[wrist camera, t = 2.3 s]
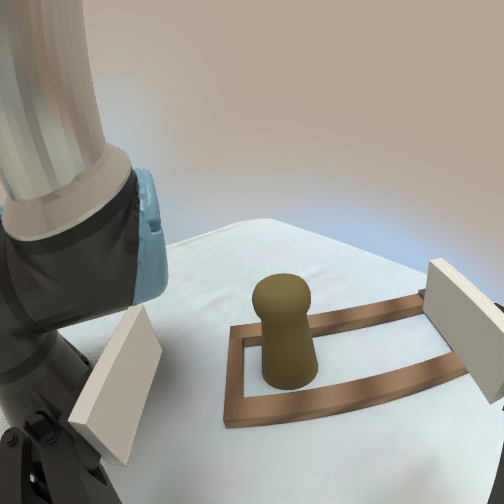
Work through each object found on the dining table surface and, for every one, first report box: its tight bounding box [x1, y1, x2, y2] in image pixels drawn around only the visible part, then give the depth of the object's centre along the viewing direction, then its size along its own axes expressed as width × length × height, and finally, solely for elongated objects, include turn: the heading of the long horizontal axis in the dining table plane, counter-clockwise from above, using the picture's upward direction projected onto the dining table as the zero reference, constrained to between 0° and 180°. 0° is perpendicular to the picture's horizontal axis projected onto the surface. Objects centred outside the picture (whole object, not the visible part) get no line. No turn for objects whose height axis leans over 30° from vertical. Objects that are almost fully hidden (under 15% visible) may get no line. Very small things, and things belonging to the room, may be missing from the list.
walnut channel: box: [223, 294, 468, 428], centre depth 29 cm, size 25×14×2 cm, turn 91°
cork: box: [252, 273, 318, 390], centre depth 27 cm, size 6×6×11 cm
